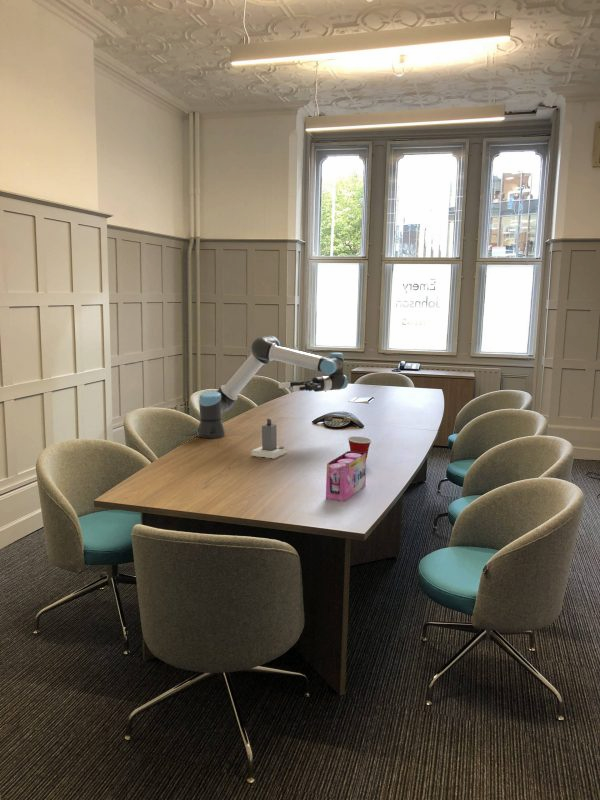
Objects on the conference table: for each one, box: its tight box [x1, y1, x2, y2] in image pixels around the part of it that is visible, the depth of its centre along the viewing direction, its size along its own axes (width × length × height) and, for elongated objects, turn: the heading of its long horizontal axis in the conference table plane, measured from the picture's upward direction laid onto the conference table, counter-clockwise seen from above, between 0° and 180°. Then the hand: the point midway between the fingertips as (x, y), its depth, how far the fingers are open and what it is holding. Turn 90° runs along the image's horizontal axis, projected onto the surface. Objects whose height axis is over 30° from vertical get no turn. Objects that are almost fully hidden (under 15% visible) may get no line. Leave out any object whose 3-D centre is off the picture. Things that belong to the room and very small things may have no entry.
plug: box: [261, 418, 278, 451], centre depth 300 cm, size 5×5×17 cm
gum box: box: [325, 450, 367, 502], centre depth 243 cm, size 24×8×14 cm, turn 154°
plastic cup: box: [347, 435, 373, 459], centre depth 283 cm, size 11×11×12 cm
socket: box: [251, 445, 287, 460], centre depth 302 cm, size 12×12×4 cm
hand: (286, 387), depth 315 cm, fingers open, 13 cm apart
